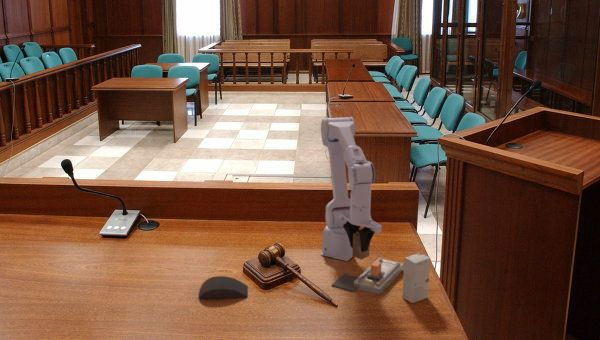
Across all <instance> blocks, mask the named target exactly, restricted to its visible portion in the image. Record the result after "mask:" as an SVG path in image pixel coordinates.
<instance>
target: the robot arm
mask: <svg viewBox="0 0 600 340" xmlns="http://www.w3.org/2000/svg"><path fill="white" fill-rule="evenodd" d="M356 126H357V125H356V120H355V119H354V117H352V116H349V117H348V116H347V117H329V118H327V117H323V118H322V120H321V124H320V133H321V142H322V145H323V146H324V147H327V150H328V154H329V164H330V165H329V167H330V176H331V178H330V179H331V186H332V196H333V199H332V200H331V201H329V202H328V203H327V204H326V205H325V216H324V219H325V224H326V226H325V227H324V229H323V231H322V237H321V238H322V240H321V243H322V244H321V250H322V251H321V252H320V255H322V256H325V257H328V258H331V259H332V258H333V259H335V260H340V261H344V262H349V260H351V259H352V258H353V257H354V256H352V248H353V233H355V232H358V233H359V236H360V241H361V252H365V251H367V250H368V247H369V243H370V244H371V242H372V241H371V240H372V239H373V236H374V235H375V234H379V233H381V232H382V227H383V225H381V224H379V223H378V222H376V221H374V220H373V218H372V215H371V203H372V201H371V200H372V184H374V182H375V179H376V170H375V166H374V163H373V162H371V161H369V160H367V158H366V156H365V154H364V152H363V149H362V148H361V147H360V146H359V145H357V143H356V141H355V133H356ZM346 167H347V170H346ZM347 177H348V180H347ZM348 187H349V189H350V198H349V191H348V190H349V189H348ZM344 207H345V208H344ZM336 208H337V209H336ZM360 228H361V229H360Z"/></svg>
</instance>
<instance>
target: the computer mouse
mask: <svg viewBox="0 0 600 340" xmlns="http://www.w3.org/2000/svg"><path fill="white" fill-rule="evenodd" d="M248 293H249V292H248V285H247V284H246V283H244V282H242V281H240V280H239V279H237V278H234V277H230V276H224V275H220V276H219V275H217V276H211V277H209V278H207V279H206V280H205V281H203V283H202V284H201V286H200V288H199V291H198V299H199V300H229V299H231V300H232V299H234V300H235V299H246V298H248V295H249V294H248Z"/></svg>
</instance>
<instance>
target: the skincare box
mask: <svg viewBox="0 0 600 340" xmlns="http://www.w3.org/2000/svg"><path fill="white" fill-rule="evenodd" d="M403 261H404V262H403V264H404V265H403V279H402V298H403V299H404V300H406V301H408V302H409V303H411V304H414V303H417V302H420V301H423V300H426V299H427V298H428V297H429V283H430V270H431V269H430V268H431V267H430V266H431V257H429V256H427V255H425V254H423V253H421V252H420V253H416V254H411V255H409V256H406V257H404V259H403Z"/></svg>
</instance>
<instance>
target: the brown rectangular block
mask: <svg viewBox="0 0 600 340" xmlns="http://www.w3.org/2000/svg"><path fill="white" fill-rule="evenodd" d="M370 244H371V242H370V243H369V247H368V250H367V251H365V252H361V241H360V236H359V233H358V232H355V233H353V248H352V256H353V257H355V258H357V259H360V260H363V259H366V258H369V257H370V246H371V245H370Z"/></svg>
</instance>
